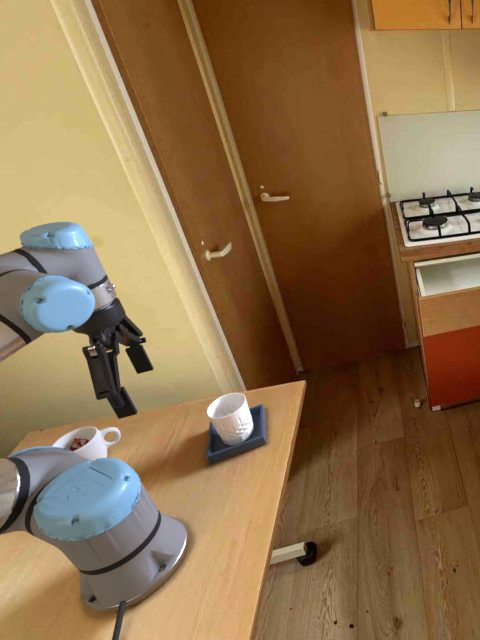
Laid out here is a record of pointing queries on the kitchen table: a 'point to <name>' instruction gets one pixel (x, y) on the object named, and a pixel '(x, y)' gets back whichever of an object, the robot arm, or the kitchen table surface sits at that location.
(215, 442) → the tray
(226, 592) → the kitchen table surface
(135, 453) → the kitchen table surface
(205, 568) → the kitchen table surface
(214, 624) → the kitchen table surface
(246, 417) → the white cup
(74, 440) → the cup
